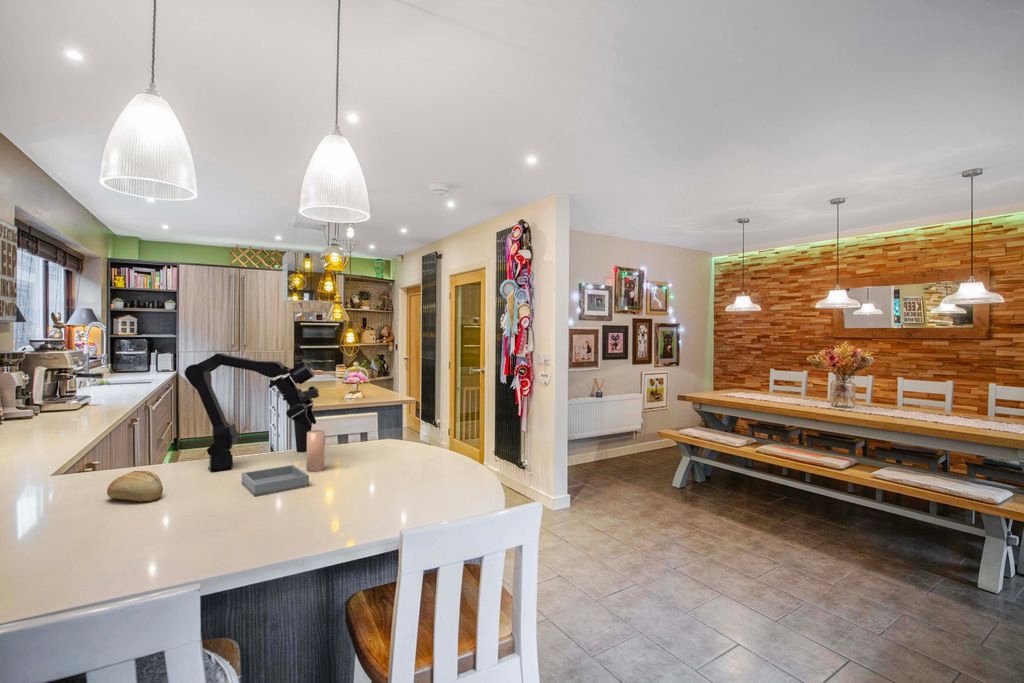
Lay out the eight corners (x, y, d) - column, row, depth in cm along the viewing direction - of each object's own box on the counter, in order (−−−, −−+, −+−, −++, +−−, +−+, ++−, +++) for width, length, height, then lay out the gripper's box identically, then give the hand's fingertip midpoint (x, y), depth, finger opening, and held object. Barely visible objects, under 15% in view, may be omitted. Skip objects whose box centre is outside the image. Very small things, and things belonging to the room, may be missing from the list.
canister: (309, 473, 168) (310, 434, 167) (303, 469, 172) (304, 431, 172) (326, 470, 172) (327, 432, 171) (320, 467, 176) (321, 429, 176)
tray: (254, 496, 143) (254, 485, 143) (241, 483, 155) (241, 473, 155) (308, 486, 154) (309, 475, 154) (293, 474, 166) (293, 464, 166)
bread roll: (125, 493, 144) (125, 467, 144) (172, 494, 144) (173, 468, 144) (96, 504, 135) (96, 476, 135) (147, 506, 134) (147, 478, 134)
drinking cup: (288, 452, 197) (289, 404, 197) (301, 448, 204) (302, 401, 204) (303, 453, 195) (304, 405, 195) (316, 449, 202) (317, 402, 202)
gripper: (304, 381, 168) (328, 418, 170) (313, 377, 186) (335, 410, 188) (275, 399, 166) (300, 435, 168) (287, 392, 184) (310, 425, 186)
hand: (313, 425), depth 178 cm, fingers open, 9 cm apart
